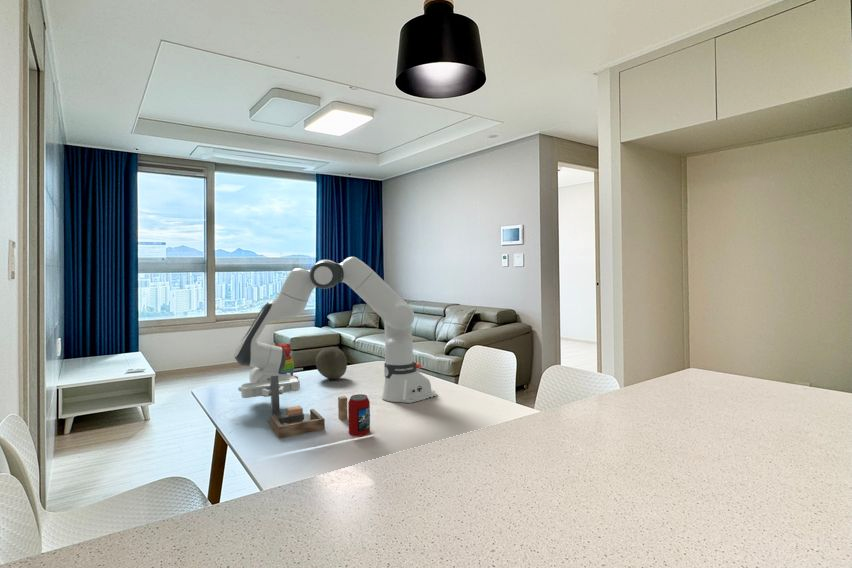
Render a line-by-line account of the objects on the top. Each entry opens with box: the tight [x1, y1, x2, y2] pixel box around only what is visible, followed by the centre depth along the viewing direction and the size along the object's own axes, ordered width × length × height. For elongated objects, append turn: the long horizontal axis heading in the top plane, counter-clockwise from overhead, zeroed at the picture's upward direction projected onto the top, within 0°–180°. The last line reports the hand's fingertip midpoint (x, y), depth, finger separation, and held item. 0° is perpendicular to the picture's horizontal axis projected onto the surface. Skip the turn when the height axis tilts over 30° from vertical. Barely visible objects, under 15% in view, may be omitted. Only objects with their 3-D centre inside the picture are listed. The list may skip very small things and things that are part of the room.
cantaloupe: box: [315, 346, 348, 380], centre depth 216 cm, size 14×14×15 cm
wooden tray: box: [266, 408, 326, 439], centre depth 154 cm, size 14×19×4 cm
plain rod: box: [337, 395, 348, 421], centre depth 160 cm, size 2×2×8 cm
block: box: [285, 405, 304, 424], centre depth 157 cm, size 4×4×4 cm
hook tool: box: [270, 375, 305, 423], centre depth 158 cm, size 8×13×14 cm, turn 28°
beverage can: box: [347, 393, 371, 438], centre depth 147 cm, size 7×7×12 cm
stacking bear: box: [275, 342, 299, 380], centre depth 213 cm, size 11×10×18 cm
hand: (275, 392), depth 161 cm, fingers closed on hook tool, 2 cm apart
